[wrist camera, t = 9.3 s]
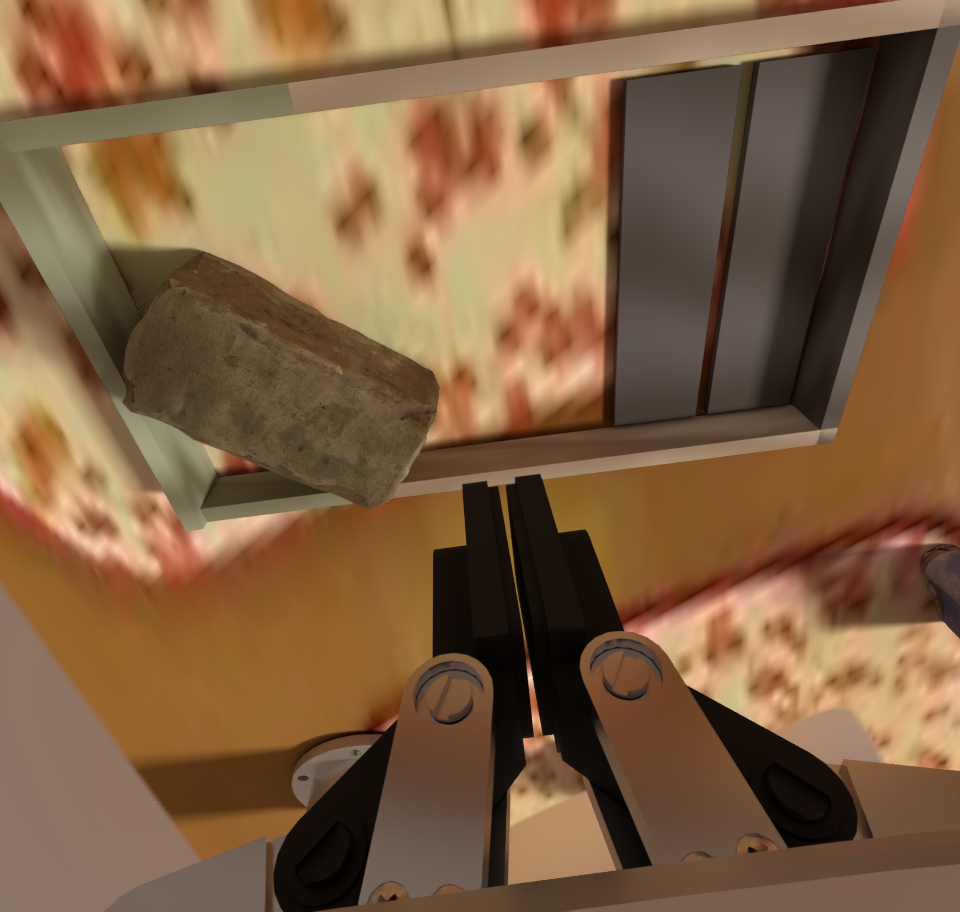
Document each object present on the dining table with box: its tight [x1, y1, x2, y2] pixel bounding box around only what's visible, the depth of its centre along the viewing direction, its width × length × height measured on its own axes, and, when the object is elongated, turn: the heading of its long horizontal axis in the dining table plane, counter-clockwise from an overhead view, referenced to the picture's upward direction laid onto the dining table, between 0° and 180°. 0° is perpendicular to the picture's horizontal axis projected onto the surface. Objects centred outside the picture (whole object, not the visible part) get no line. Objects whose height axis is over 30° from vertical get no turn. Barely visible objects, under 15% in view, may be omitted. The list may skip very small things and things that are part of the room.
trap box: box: [0, 0, 960, 531], centre depth 22 cm, size 16×31×3 cm, turn 96°
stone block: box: [122, 253, 439, 509], centre depth 22 cm, size 6×12×5 cm, turn 59°
